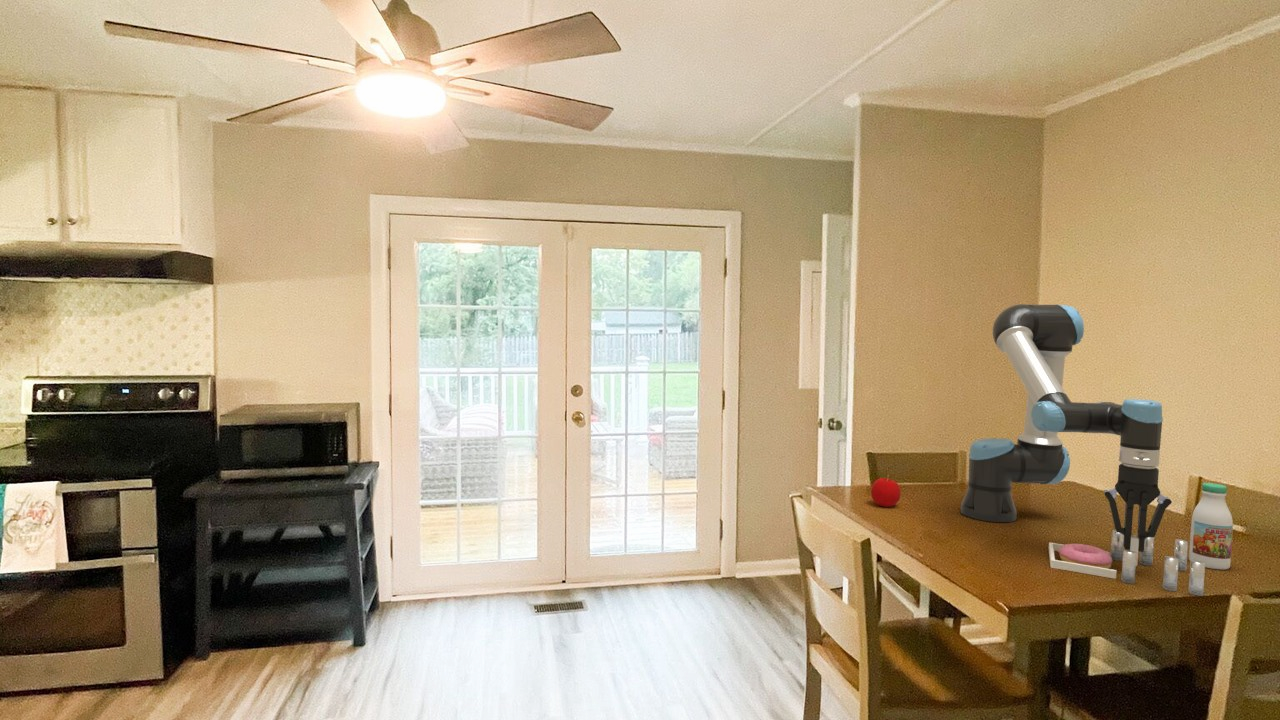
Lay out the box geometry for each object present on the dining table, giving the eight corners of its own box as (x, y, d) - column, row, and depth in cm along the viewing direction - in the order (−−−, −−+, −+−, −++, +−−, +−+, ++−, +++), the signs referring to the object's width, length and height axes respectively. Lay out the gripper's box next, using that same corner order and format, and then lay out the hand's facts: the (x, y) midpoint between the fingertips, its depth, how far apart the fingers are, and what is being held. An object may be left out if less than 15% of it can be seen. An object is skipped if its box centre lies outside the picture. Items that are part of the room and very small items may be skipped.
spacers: (1119, 581, 149) (1121, 551, 149) (1109, 556, 166) (1111, 529, 165) (1204, 596, 142) (1206, 564, 141) (1185, 568, 158) (1187, 540, 158)
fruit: (904, 509, 206) (906, 478, 205) (875, 509, 206) (877, 477, 205) (893, 501, 215) (895, 471, 215) (866, 501, 215) (867, 471, 215)
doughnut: (1048, 559, 163) (1048, 543, 163) (1076, 554, 168) (1077, 538, 167) (1093, 575, 153) (1094, 558, 153) (1122, 569, 158) (1123, 552, 157)
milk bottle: (1180, 559, 165) (1185, 480, 164) (1208, 559, 166) (1213, 480, 165) (1209, 570, 158) (1215, 488, 156) (1239, 570, 158) (1244, 488, 157)
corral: (1050, 567, 157) (1051, 560, 157) (1048, 549, 171) (1048, 542, 171) (1116, 578, 151) (1116, 571, 151) (1108, 558, 164) (1109, 551, 164)
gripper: (1106, 464, 154) (1100, 562, 156) (1177, 471, 148) (1170, 574, 149) (1103, 459, 161) (1097, 553, 162) (1170, 466, 154) (1164, 564, 155)
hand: (1132, 563), depth 156 cm, fingers closed
